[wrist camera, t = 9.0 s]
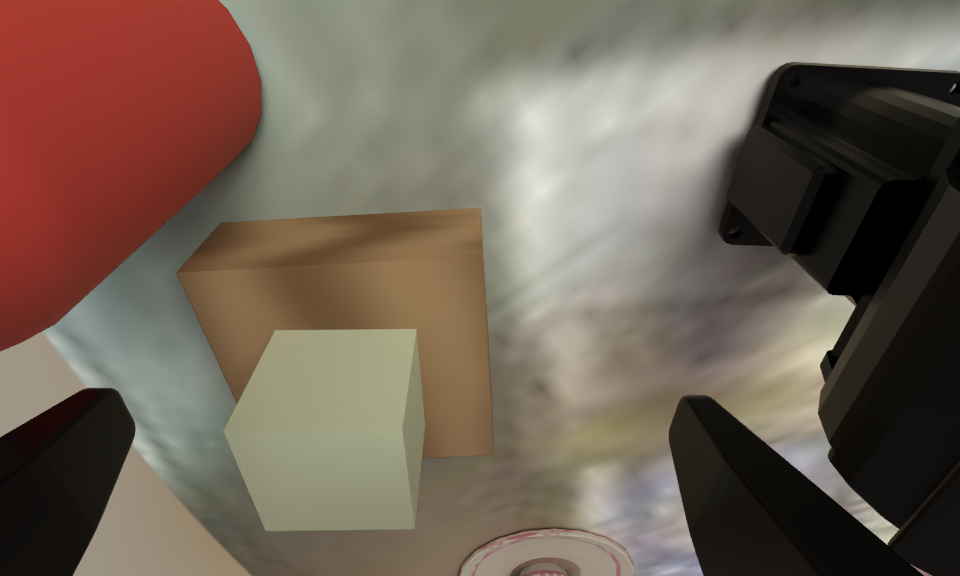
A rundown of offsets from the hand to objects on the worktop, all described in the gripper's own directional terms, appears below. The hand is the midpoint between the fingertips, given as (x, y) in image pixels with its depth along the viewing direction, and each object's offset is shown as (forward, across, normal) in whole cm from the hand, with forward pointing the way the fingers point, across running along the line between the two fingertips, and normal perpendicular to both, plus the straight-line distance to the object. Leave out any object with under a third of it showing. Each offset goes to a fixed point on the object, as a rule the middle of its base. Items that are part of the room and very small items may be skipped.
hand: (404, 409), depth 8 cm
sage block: (+8, +3, +8) cm, 12 cm away
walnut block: (+12, +3, +7) cm, 15 cm away
